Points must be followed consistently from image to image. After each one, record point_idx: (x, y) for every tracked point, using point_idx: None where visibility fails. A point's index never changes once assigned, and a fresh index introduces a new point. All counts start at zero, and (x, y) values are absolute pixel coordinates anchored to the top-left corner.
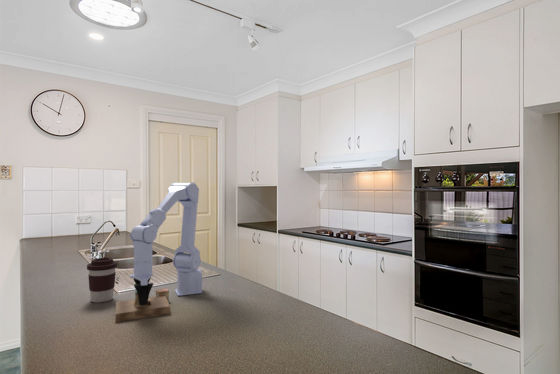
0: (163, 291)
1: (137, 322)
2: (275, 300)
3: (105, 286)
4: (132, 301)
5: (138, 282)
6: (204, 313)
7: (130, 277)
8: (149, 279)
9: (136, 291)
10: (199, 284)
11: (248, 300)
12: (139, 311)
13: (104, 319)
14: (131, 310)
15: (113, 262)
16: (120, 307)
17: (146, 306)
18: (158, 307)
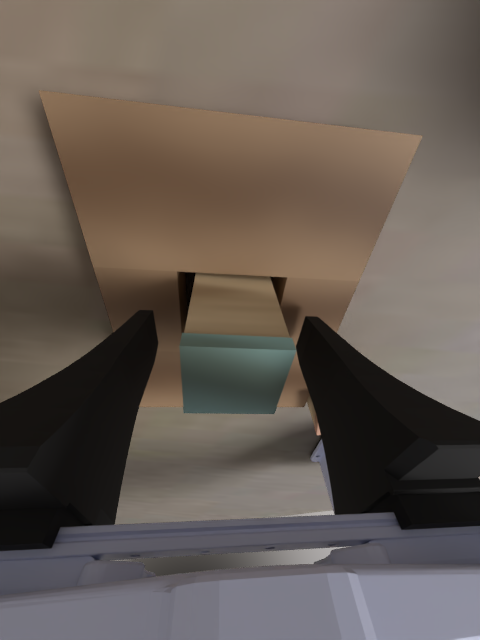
0: (317, 421)
1: (55, 252)
2: (163, 517)
3: None
4: (325, 268)
5: (367, 425)
6: None
7: (182, 593)
8: (334, 494)
9: (227, 356)
10: (328, 485)
11: (186, 499)
12: (102, 289)
13: None
14: (116, 245)
15: None
16: (226, 162)
17: (171, 331)
18: None
